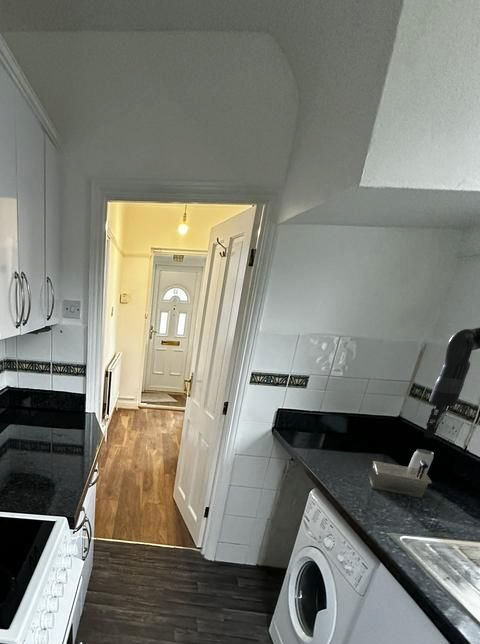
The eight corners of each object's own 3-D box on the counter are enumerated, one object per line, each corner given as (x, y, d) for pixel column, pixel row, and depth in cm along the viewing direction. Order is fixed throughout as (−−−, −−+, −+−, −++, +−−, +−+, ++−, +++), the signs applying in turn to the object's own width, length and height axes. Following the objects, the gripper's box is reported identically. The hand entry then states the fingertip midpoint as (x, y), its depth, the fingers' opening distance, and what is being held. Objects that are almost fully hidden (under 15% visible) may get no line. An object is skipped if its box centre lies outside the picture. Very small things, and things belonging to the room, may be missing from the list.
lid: (422, 471, 161) (428, 458, 158) (431, 484, 149) (437, 469, 147) (372, 462, 167) (377, 449, 165) (376, 474, 156) (381, 460, 153)
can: (407, 474, 174) (418, 447, 169) (425, 479, 169) (437, 452, 164) (402, 477, 170) (413, 450, 165) (420, 483, 166) (432, 455, 160)
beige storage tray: (414, 485, 163) (420, 471, 161) (422, 498, 152) (428, 483, 149) (368, 476, 170) (372, 462, 167) (371, 488, 158) (376, 474, 156)
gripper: (457, 394, 135) (438, 441, 142) (463, 390, 145) (445, 434, 151) (429, 390, 140) (412, 436, 147) (436, 386, 149) (420, 429, 156)
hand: (429, 435), depth 149 cm, fingers open, 8 cm apart
